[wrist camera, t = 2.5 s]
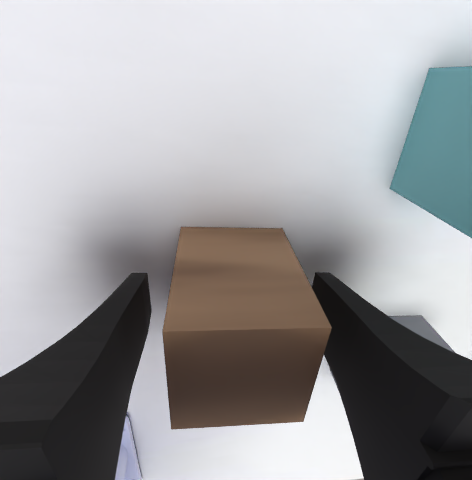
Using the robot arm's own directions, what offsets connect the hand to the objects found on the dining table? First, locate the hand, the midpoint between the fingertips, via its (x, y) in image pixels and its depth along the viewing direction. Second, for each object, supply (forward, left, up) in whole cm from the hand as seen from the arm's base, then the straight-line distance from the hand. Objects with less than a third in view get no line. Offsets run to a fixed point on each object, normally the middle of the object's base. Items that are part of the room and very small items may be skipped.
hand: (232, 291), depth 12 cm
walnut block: (0, 0, -2) cm, 2 cm away
